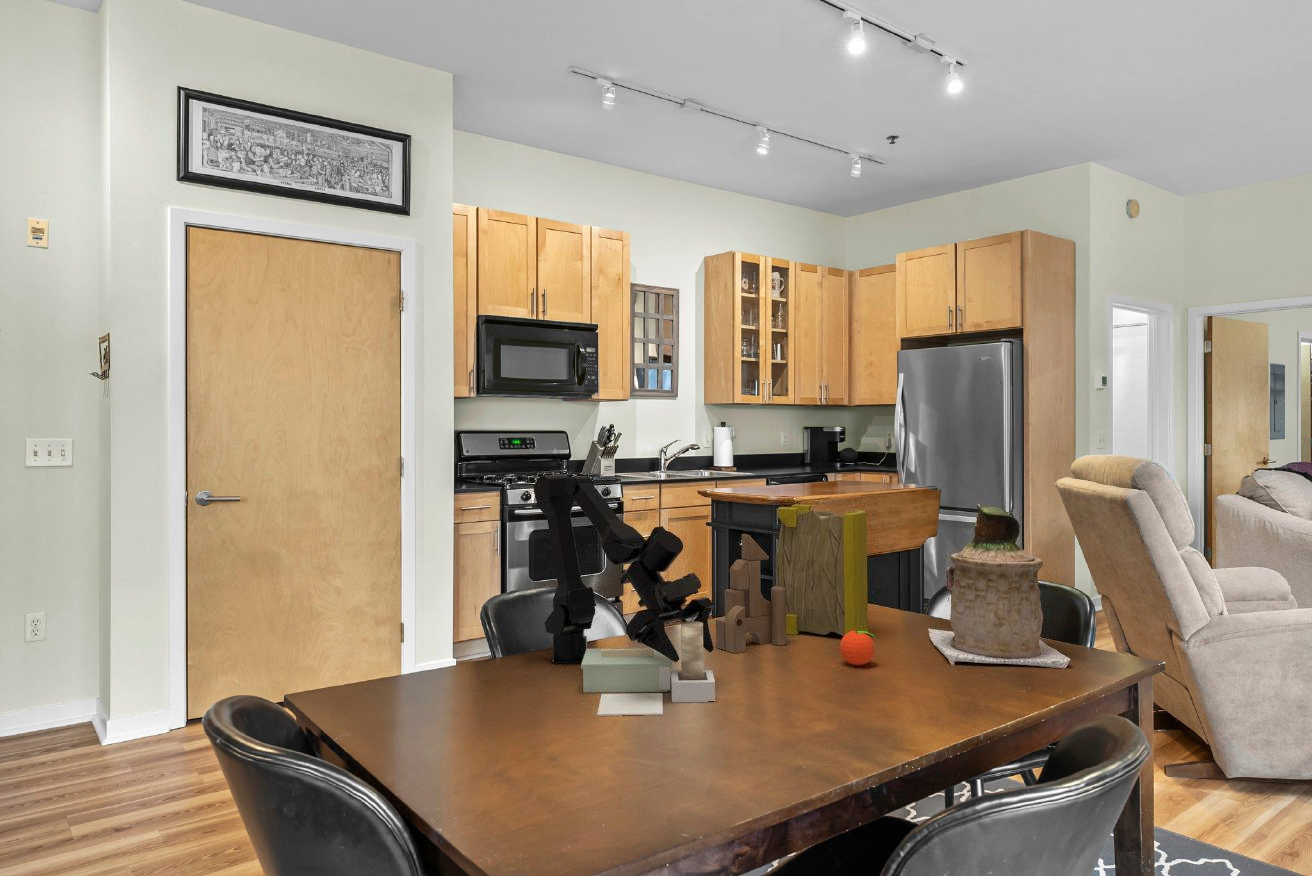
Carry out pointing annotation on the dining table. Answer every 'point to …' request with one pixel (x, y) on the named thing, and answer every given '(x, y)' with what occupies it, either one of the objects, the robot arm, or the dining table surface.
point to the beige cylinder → (692, 650)
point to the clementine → (857, 647)
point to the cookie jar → (995, 599)
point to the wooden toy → (750, 605)
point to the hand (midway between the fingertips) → (695, 655)
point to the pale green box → (641, 674)
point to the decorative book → (823, 570)
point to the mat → (630, 704)
